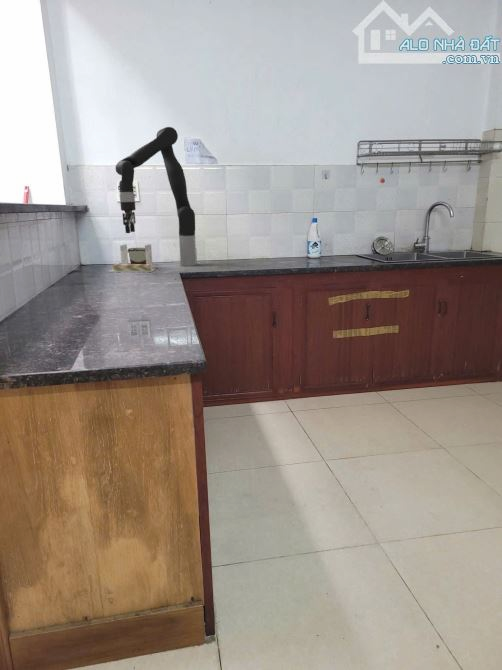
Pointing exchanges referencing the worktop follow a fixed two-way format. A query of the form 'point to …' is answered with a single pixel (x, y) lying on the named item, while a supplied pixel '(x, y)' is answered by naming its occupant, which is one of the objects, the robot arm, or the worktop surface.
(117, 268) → the rail
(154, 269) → the mat
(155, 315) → the worktop surface
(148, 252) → the rack
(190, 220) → the robot arm
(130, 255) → the food container
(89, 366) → the worktop surface
